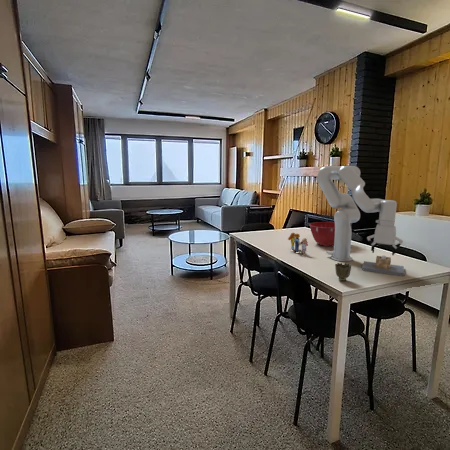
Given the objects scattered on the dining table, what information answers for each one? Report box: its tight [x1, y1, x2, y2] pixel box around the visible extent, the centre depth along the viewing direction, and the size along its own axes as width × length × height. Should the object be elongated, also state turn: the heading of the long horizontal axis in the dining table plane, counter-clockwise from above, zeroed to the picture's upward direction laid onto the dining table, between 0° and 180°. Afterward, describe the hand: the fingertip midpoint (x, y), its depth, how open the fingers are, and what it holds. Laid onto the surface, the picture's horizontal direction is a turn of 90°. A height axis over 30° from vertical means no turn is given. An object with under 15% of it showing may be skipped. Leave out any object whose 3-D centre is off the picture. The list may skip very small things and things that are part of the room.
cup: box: [334, 262, 352, 282], centre depth 143 cm, size 8×7×8 cm
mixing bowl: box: [309, 221, 335, 247], centre depth 219 cm, size 28×28×15 cm
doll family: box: [287, 232, 309, 255], centre depth 198 cm, size 21×10×13 cm, turn 7°
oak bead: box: [375, 255, 392, 269], centre depth 160 cm, size 7×7×5 cm
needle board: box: [361, 255, 405, 277], centre depth 160 cm, size 20×14×8 cm
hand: (382, 253), depth 159 cm, fingers open, 9 cm apart
